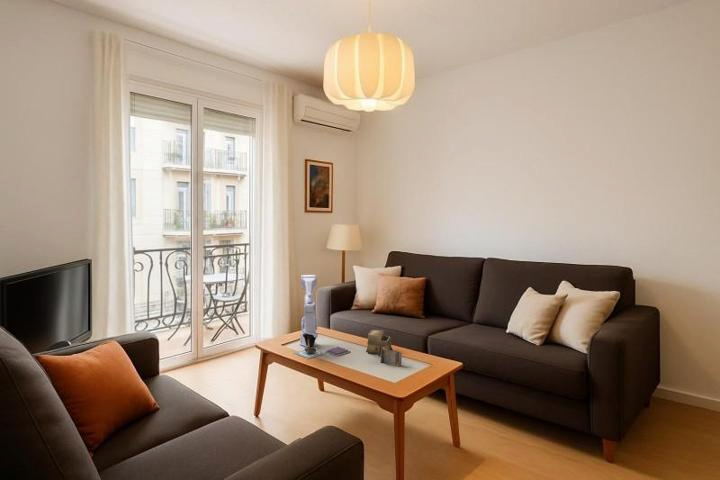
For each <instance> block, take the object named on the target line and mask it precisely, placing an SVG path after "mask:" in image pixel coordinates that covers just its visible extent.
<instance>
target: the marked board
mask: <svg viewBox="0 0 720 480" xmlns="http://www.w3.org/2000/svg"><path fill="white" fill-rule="evenodd" d="M293 354H294V355H297V356H300V357H302V358H305V359H307V360H310V359H314V358H316V357H319V356H324V355H326V354H327V353H325V351H321V350H318V349H316V352H311V353H308V352H306V351H305V349H303V350H299V351H295V352H294V353H293Z"/></svg>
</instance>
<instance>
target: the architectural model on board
mask: <svg viewBox="0 0 720 480" xmlns="http://www.w3.org/2000/svg"><path fill="white" fill-rule="evenodd" d="M381 348H383V349H382V350H381V356H380V363H381V364H382V363H384V364H385V365H390V366H394V367H401V366H402V364H403V363H402V358H403V356H402V351H397V350H388V349H385V347H381Z"/></svg>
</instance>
